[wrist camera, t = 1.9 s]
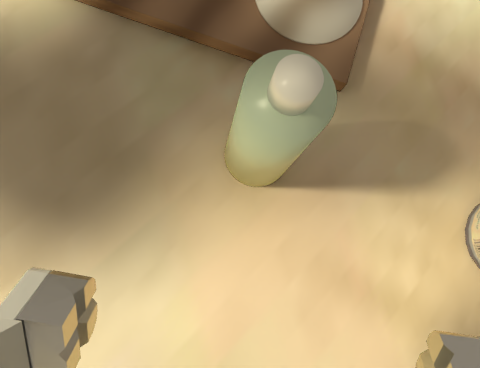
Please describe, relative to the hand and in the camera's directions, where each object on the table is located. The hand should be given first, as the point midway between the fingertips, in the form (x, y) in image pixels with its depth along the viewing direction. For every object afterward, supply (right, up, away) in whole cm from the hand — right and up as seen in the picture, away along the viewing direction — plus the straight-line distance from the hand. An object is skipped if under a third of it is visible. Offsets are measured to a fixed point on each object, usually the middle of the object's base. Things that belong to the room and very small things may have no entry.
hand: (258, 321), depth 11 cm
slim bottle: (+1, +6, +24) cm, 25 cm away
